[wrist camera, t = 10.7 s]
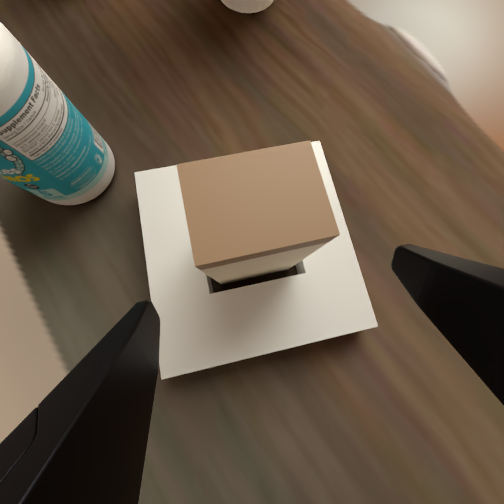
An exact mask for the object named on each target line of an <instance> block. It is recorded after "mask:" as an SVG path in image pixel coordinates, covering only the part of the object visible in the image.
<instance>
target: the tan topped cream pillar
mask: <svg viewBox="0 0 504 504" xmlns="http://www.w3.org/2000/svg"><path fill="white" fill-rule="evenodd" d="M176 165H177V171H178V176H179V182H180V187H181V193H182V198H183V204H184V209H185V215H186V220H187V226H188V231H189V237H190V242H191V248H192V253H193V259H194V264H195V267H197V268H198V269H199V270H201V271H202V272H204V273H205V274H207V275H208V276H210V277H211V278H213V279H214V280H216V281H217V282H218V283H220V284H221V285H222V284H226V283H231V282H235V281H239V280H244V279H248V278H253V277H257V276H261V275H266V274H270V273H275V272H279V271H283V270H288V269H290V268H291V267H293V266H294V265H296V264H297V263H299V262H300V261H302V260H303V259H305V258H306V257H307V256H309V255H310V254H312V253H313V252H315V251H316V250H318V249H319V248H321V247H322V246H324V245H325V244H327V243H328V242H330V241H331V240H333V239H334V238H336V237H337V236H339V235H340V233H339V230H338V227H337V223H336V220H335V217H334V214H333V211H332V208H331V205H330V201H329V198H328V195H327V192H326V189H325V186H324V182H323V179H322V176H321V173H320V170H319V167H318V164H317V160H316V157H315V154H314V151H313V148H312V145H311V141H310V140H309V141H304V142H298V143H293V144H287V145H281V146H276V147H270V148H265V149H259V150H254V151H248V152H243V153H237V154H232V155H226V156H221V157H215V158H209V159H204V160H198V161H193V162H187V163H182V164H176Z"/></svg>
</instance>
